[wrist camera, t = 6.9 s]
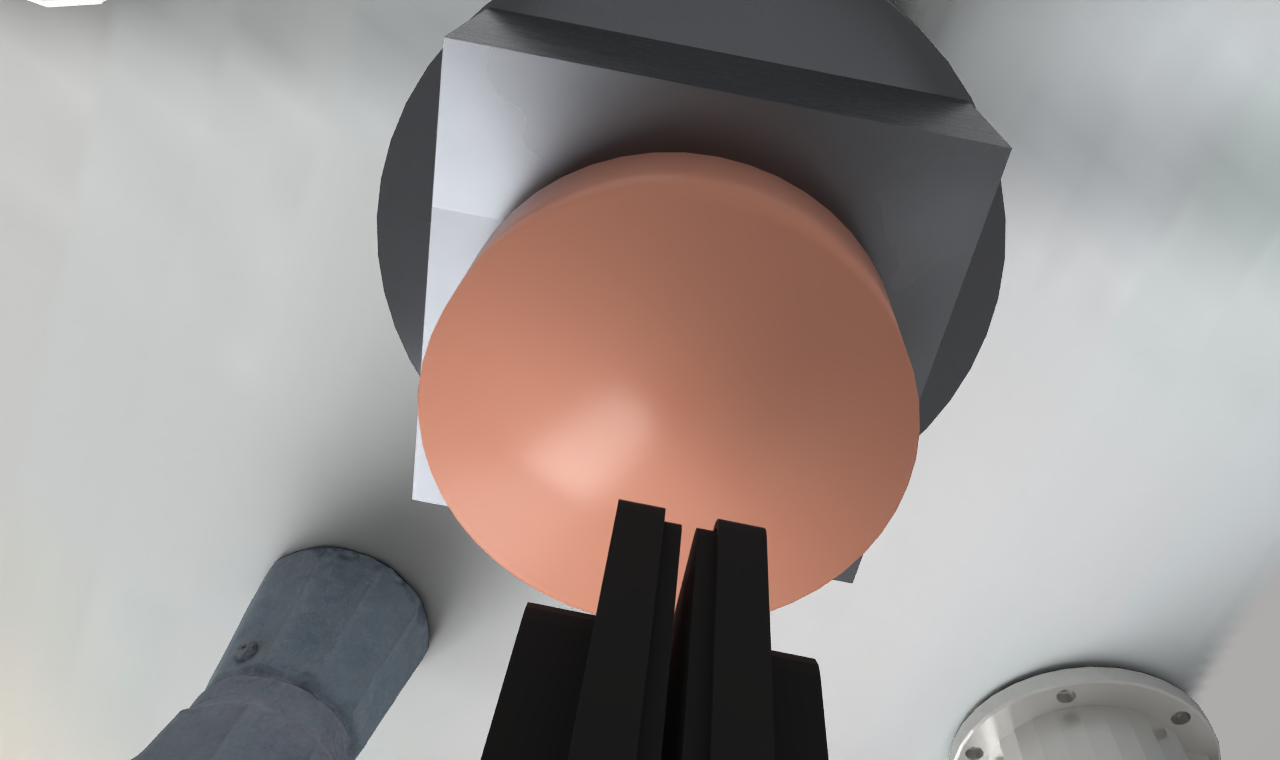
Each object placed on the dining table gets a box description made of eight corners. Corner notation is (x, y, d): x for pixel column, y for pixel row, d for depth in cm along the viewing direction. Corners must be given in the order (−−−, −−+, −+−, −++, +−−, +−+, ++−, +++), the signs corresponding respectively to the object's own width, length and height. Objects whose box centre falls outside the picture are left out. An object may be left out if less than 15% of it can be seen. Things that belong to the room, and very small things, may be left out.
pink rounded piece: (917, 135, 17) (994, 256, 12) (814, 462, 20) (840, 662, 15) (523, 58, 17) (433, 147, 12) (485, 399, 20) (405, 579, 15)
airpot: (980, -210, 30) (1383, -300, 11) (819, 336, 39) (896, 773, 21) (562, -293, 29) (282, -520, 11) (500, 274, 39) (292, 660, 20)
